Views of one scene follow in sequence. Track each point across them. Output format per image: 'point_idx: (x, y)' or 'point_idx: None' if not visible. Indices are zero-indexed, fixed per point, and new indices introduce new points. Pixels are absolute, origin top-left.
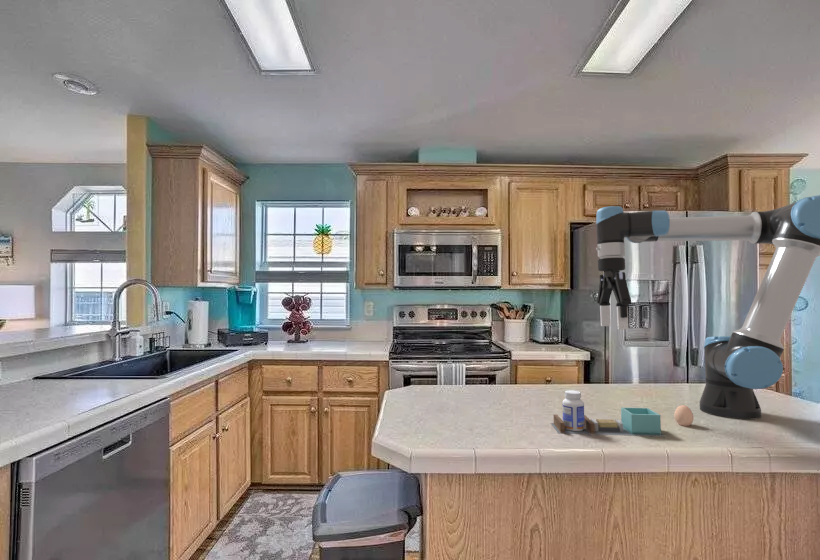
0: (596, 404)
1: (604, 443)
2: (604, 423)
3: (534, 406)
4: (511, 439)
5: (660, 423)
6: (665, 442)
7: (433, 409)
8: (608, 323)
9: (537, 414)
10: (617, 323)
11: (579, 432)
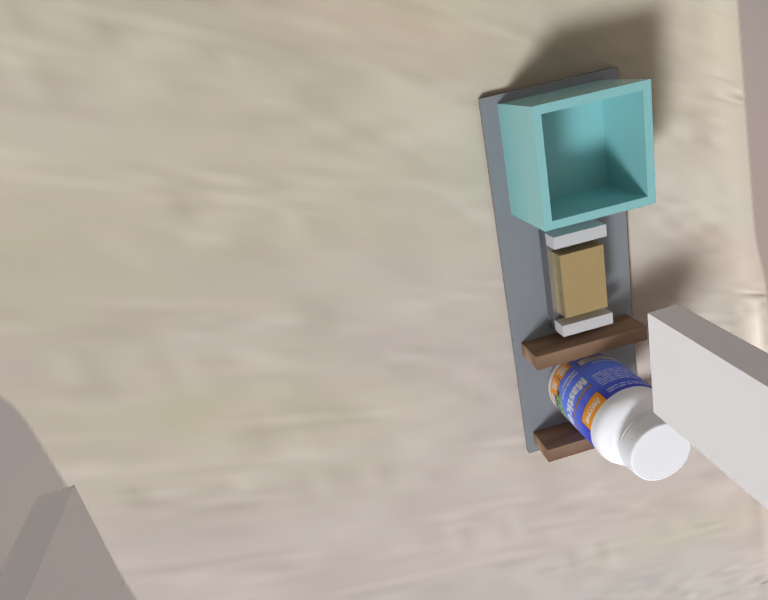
0: (106, 290)
1: (697, 285)
2: (604, 289)
3: (272, 536)
4: (692, 523)
5: (628, 79)
6: (662, 79)
7: None
8: (74, 535)
9: (400, 506)
10: (698, 449)
11: (620, 360)
